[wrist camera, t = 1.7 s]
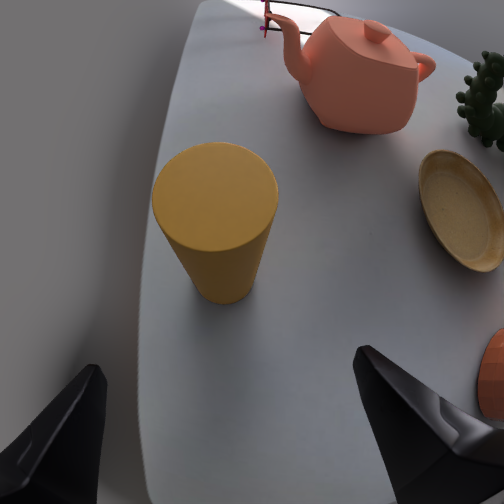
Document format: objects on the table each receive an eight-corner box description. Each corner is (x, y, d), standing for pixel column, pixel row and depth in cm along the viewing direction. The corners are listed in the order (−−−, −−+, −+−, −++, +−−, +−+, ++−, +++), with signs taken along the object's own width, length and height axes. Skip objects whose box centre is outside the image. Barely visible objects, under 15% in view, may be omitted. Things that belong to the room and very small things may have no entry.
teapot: (249, 70, 31) (256, -12, 20) (386, 81, 33) (417, 19, 21) (264, 147, 27) (281, 43, 16) (425, 152, 29) (478, 87, 17)
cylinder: (245, 311, 22) (261, 268, 10) (186, 294, 22) (132, 232, 10) (260, 254, 24) (289, 157, 11) (204, 239, 24) (179, 132, 11)
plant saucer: (434, 293, 23) (450, 287, 21) (387, 160, 28) (397, 147, 25) (506, 264, 25) (520, 258, 23) (466, 161, 30) (476, 151, 27)
